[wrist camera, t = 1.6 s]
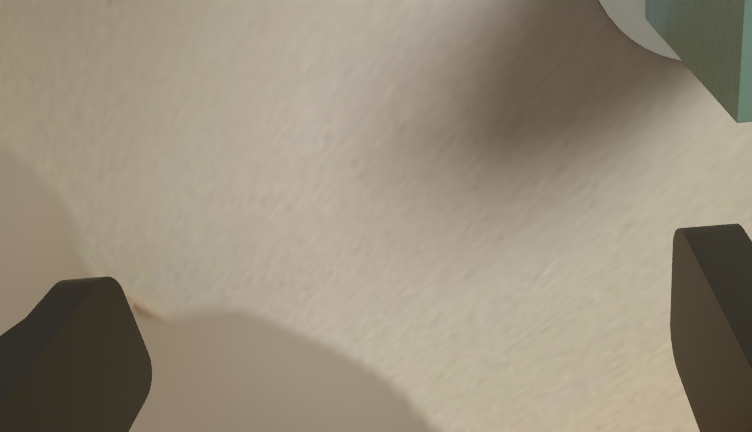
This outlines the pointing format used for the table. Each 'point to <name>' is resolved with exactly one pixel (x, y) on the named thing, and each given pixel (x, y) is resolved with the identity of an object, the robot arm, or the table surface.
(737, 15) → the cover
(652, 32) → the saucer
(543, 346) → the table surface
